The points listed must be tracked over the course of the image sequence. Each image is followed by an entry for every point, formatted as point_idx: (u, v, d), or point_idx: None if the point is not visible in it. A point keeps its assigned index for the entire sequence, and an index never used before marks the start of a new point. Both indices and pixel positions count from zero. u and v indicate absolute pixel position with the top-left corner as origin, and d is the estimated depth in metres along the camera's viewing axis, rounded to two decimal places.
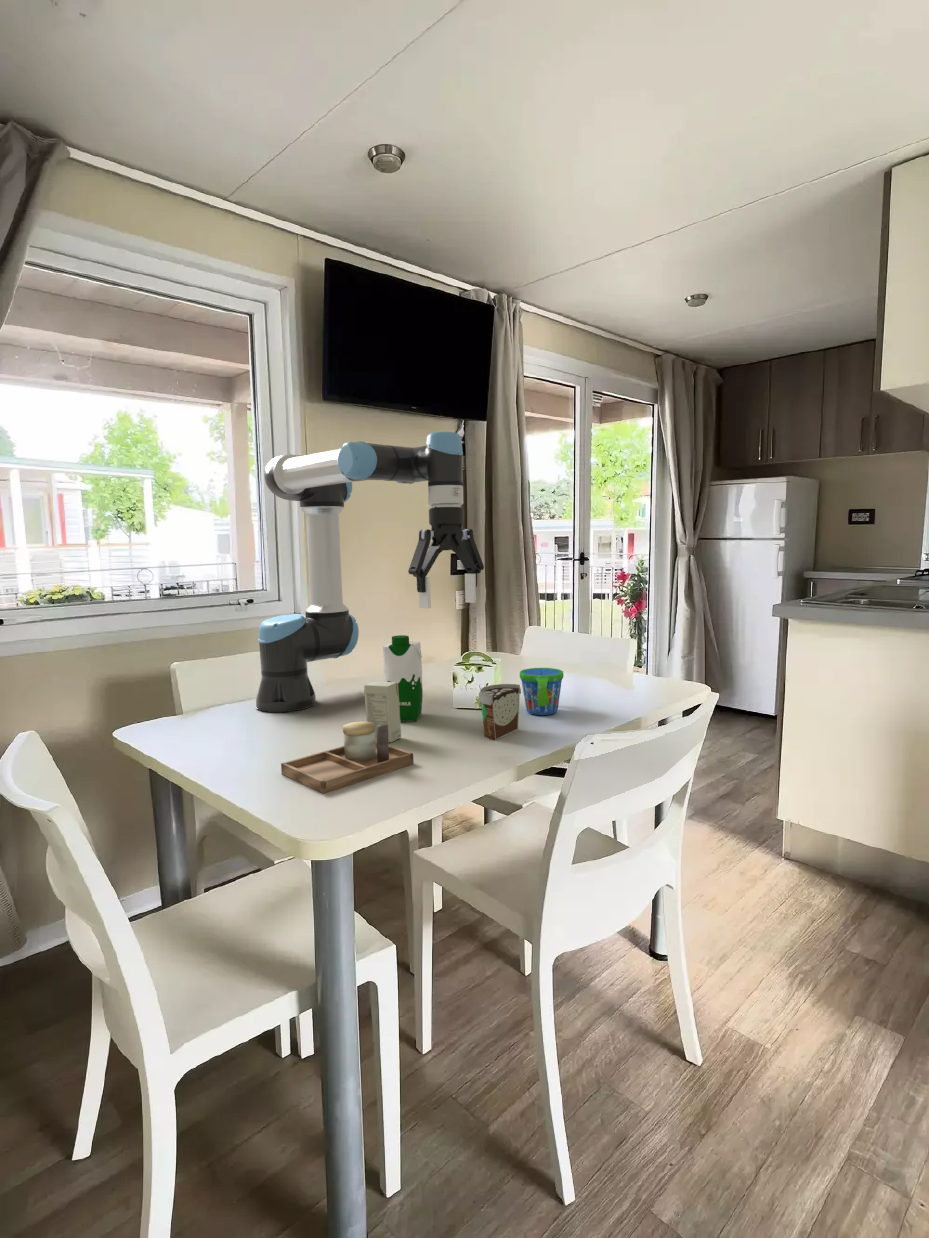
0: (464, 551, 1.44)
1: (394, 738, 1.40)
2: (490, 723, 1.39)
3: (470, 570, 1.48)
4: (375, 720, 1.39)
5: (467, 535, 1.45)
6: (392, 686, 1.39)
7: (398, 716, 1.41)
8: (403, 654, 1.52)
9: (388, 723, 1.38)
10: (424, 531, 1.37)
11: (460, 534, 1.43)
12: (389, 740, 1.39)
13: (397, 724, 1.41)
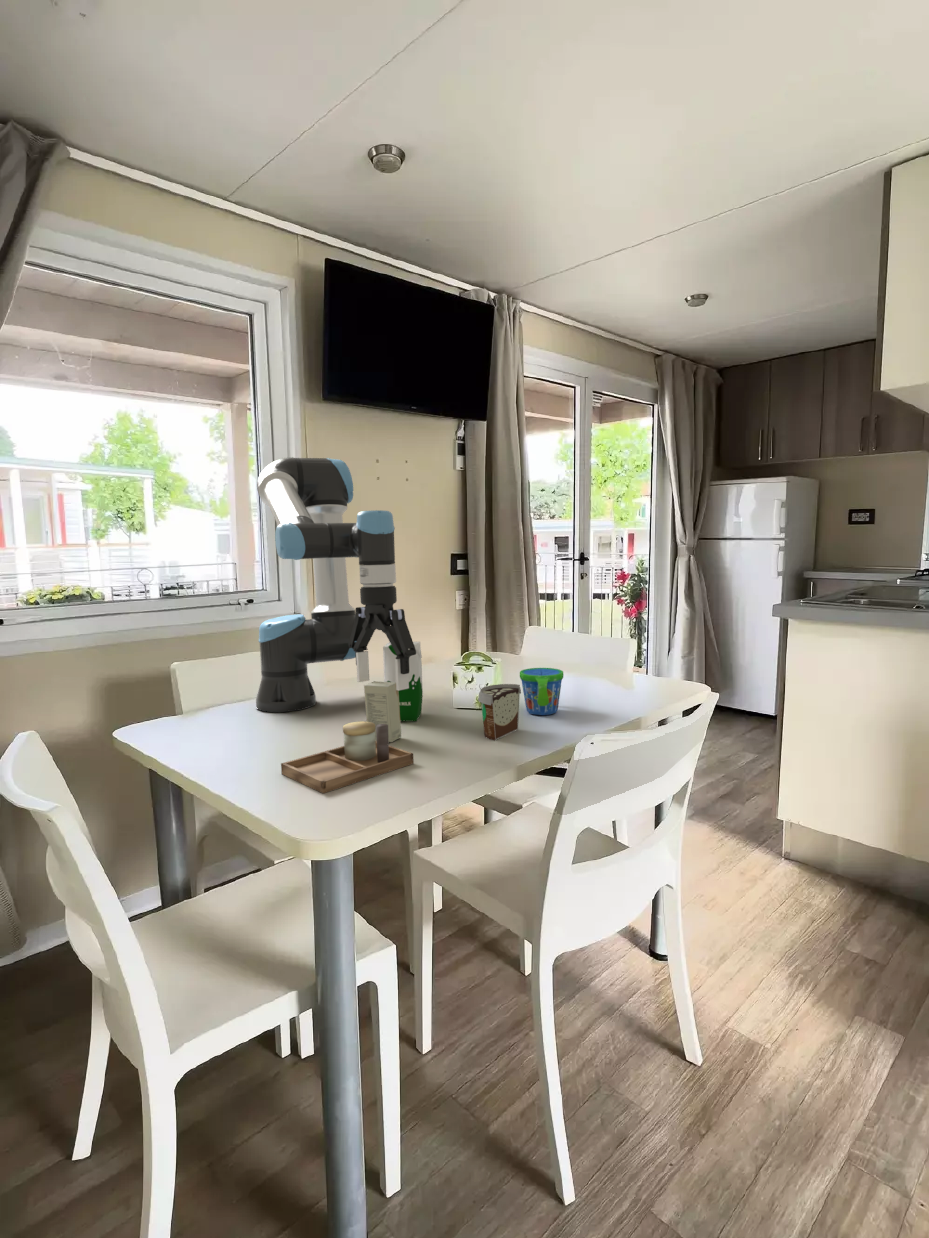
0: (387, 633, 1.35)
1: (394, 738, 1.40)
2: (490, 723, 1.39)
3: None
4: (375, 720, 1.39)
5: None
6: (392, 686, 1.39)
7: (398, 716, 1.41)
8: None
9: (388, 723, 1.38)
10: None
11: (383, 614, 1.35)
12: (389, 740, 1.39)
13: (397, 724, 1.41)
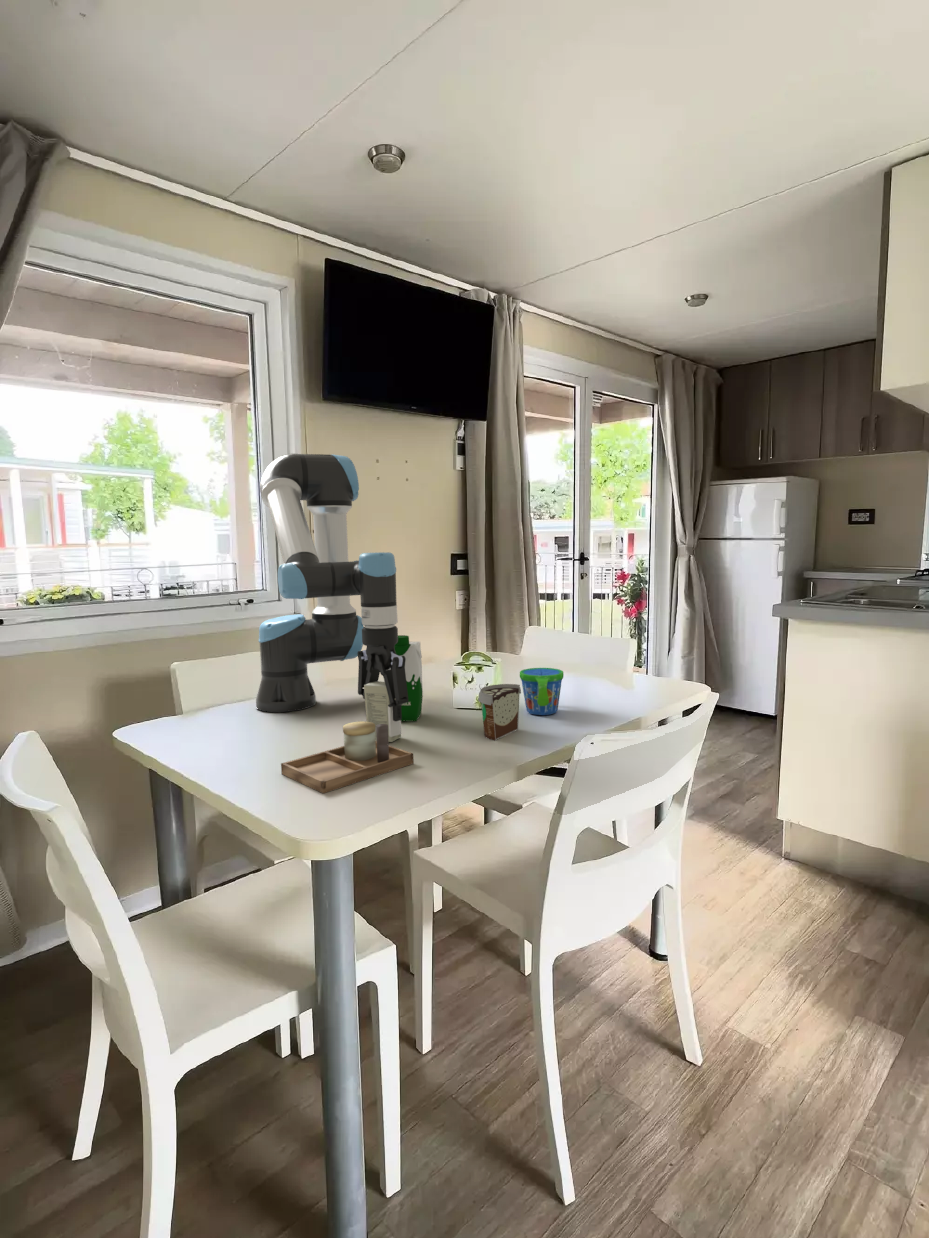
0: (385, 676, 1.37)
1: (394, 738, 1.40)
2: (490, 723, 1.39)
3: None
4: (375, 720, 1.39)
5: (393, 661, 1.35)
6: None
7: None
8: (403, 654, 1.52)
9: (388, 723, 1.38)
10: None
11: (385, 655, 1.37)
12: (389, 740, 1.39)
13: None
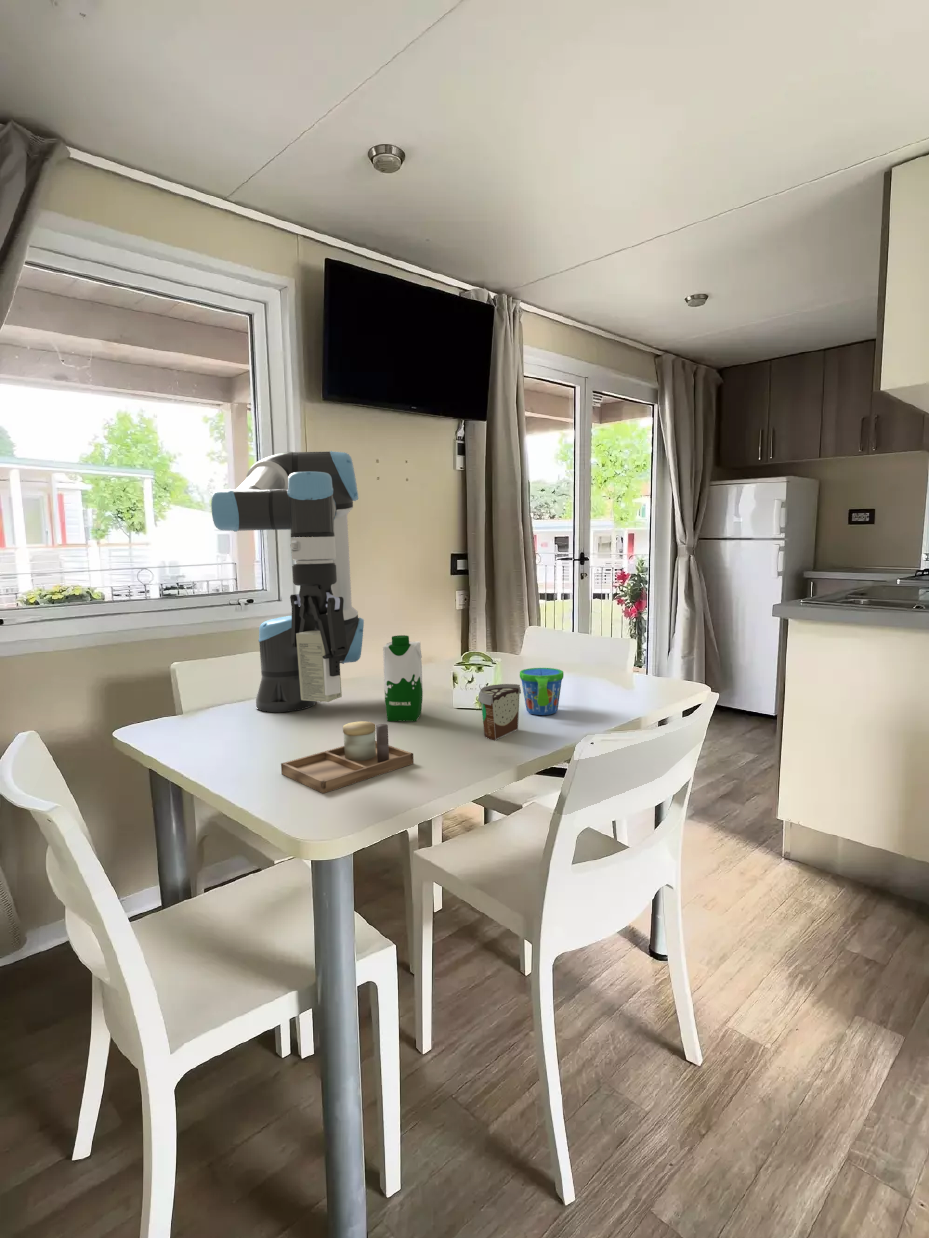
0: (319, 623, 1.14)
1: (332, 697, 1.16)
2: (490, 723, 1.39)
3: None
4: (309, 676, 1.16)
5: None
6: None
7: None
8: (403, 654, 1.52)
9: None
10: None
11: (319, 597, 1.13)
12: (325, 700, 1.15)
13: None
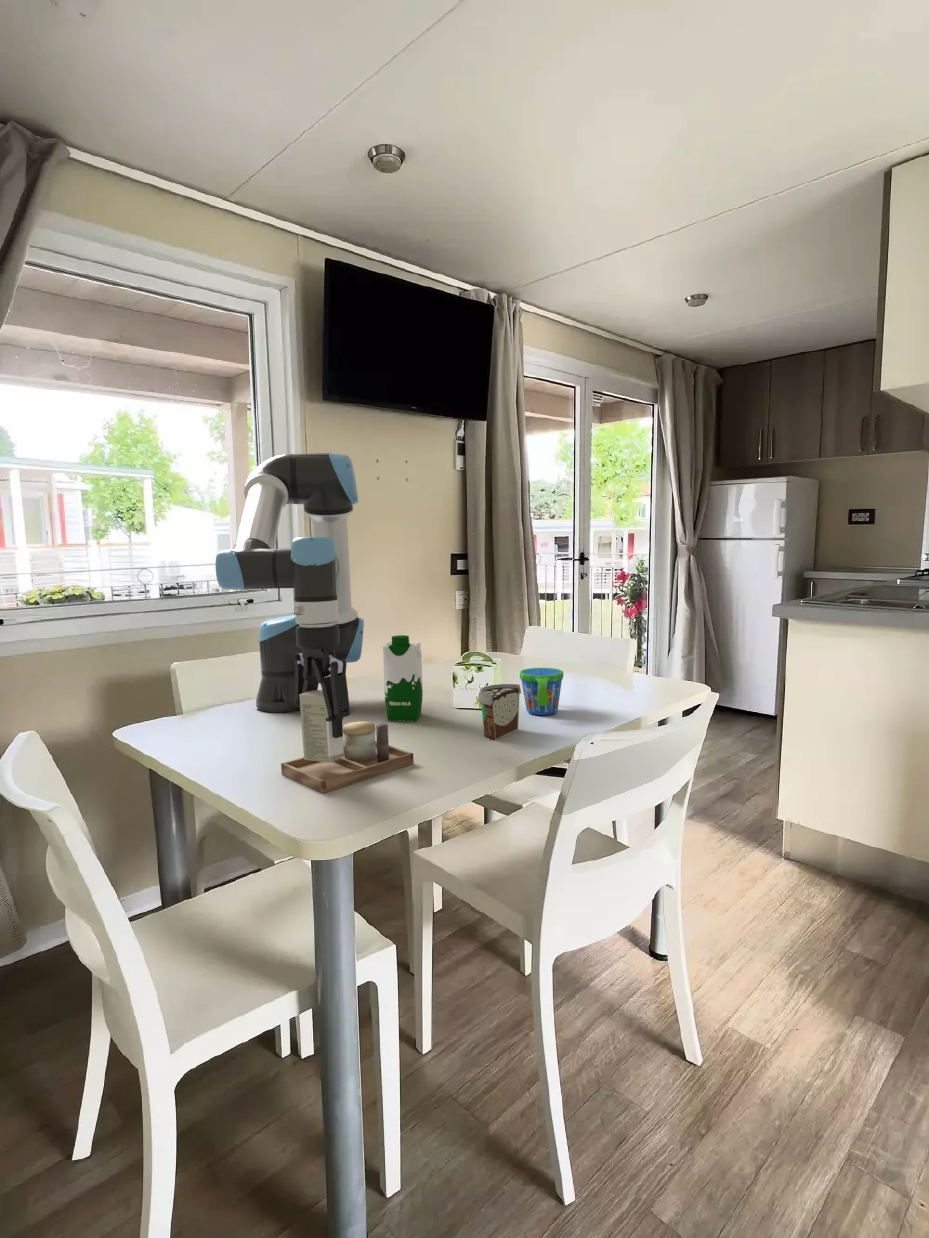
0: (322, 685, 1.15)
1: (335, 757, 1.17)
2: (490, 723, 1.39)
3: None
4: (312, 737, 1.17)
5: None
6: None
7: None
8: (403, 654, 1.52)
9: None
10: None
11: (322, 660, 1.14)
12: (328, 760, 1.16)
13: None
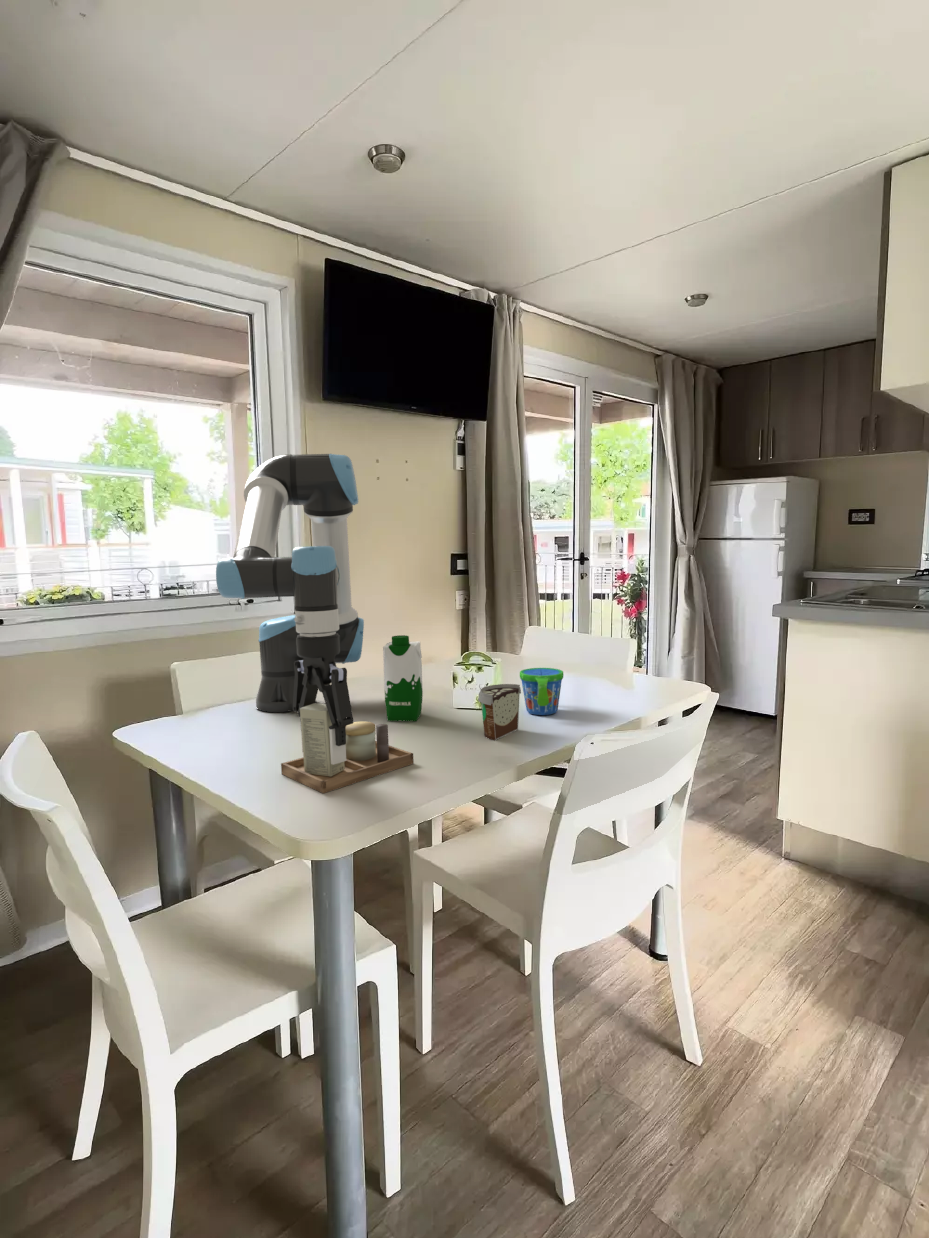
0: (324, 693, 1.15)
1: (335, 771, 1.18)
2: (490, 723, 1.39)
3: None
4: (312, 750, 1.18)
5: None
6: None
7: None
8: (403, 654, 1.52)
9: (327, 754, 1.16)
10: None
11: (323, 669, 1.15)
12: (328, 774, 1.17)
13: None
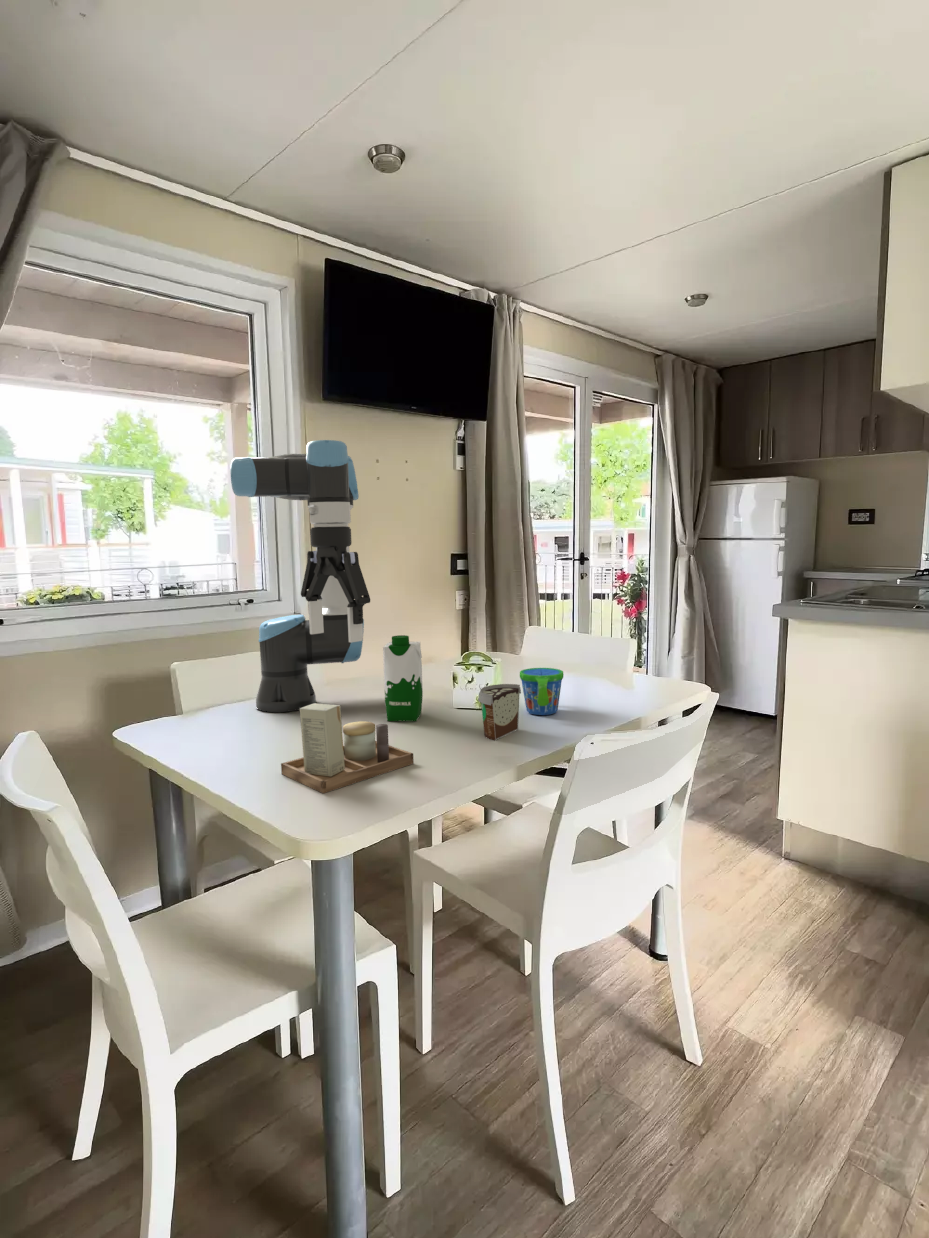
0: (339, 578, 1.21)
1: (335, 771, 1.18)
2: (490, 723, 1.39)
3: None
4: (312, 750, 1.18)
5: None
6: (332, 710, 1.17)
7: (340, 745, 1.19)
8: (403, 654, 1.52)
9: (327, 754, 1.16)
10: None
11: (335, 558, 1.21)
12: (328, 774, 1.17)
13: (339, 755, 1.19)
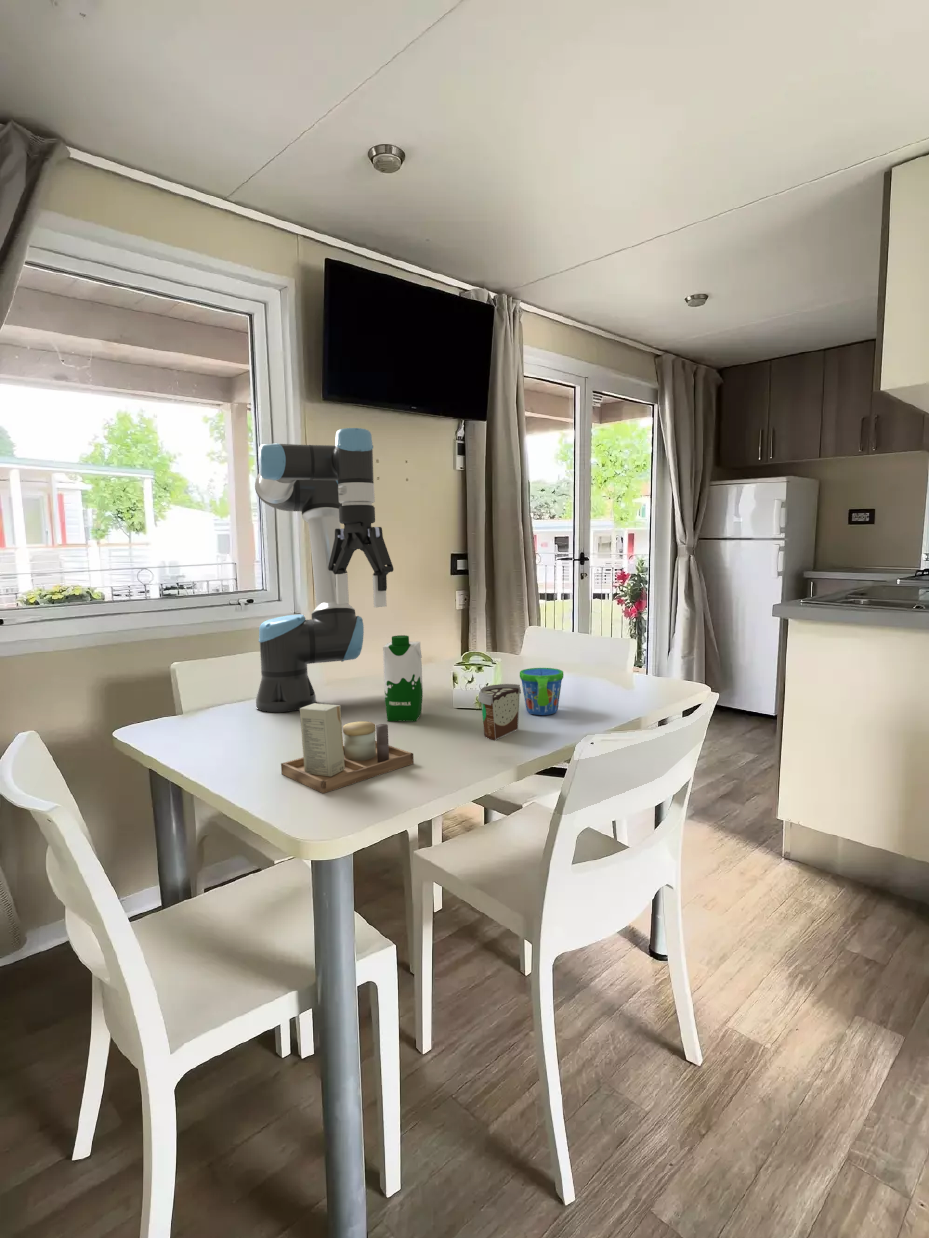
0: (365, 551, 1.36)
1: (335, 771, 1.18)
2: (490, 723, 1.39)
3: None
4: (312, 750, 1.18)
5: None
6: (332, 710, 1.17)
7: (340, 745, 1.19)
8: (403, 654, 1.52)
9: (327, 754, 1.16)
10: None
11: (361, 532, 1.36)
12: (328, 774, 1.17)
13: (339, 755, 1.19)
